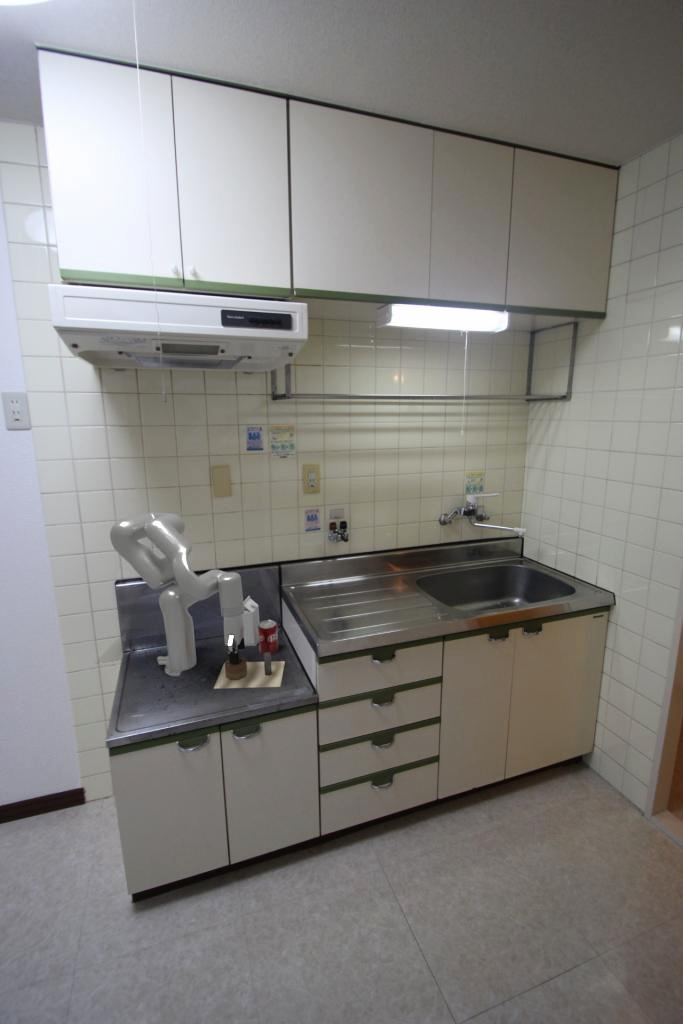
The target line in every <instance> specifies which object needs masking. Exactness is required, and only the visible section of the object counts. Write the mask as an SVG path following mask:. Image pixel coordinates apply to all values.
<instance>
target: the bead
mask: <svg viewBox="0 0 683 1024" xmlns="http://www.w3.org/2000/svg"><path fill="white" fill-rule="evenodd" d="M239 661H240V662H239V663H238V664H230V661H229V658H227V659H226V660H225V662H224V663H225V672H226V678H228V679H229V680H240V679H242V678H244V677H246V674H247V663H246V662H247V659H246V658H245V657H244V656H240V655H239Z"/></svg>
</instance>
